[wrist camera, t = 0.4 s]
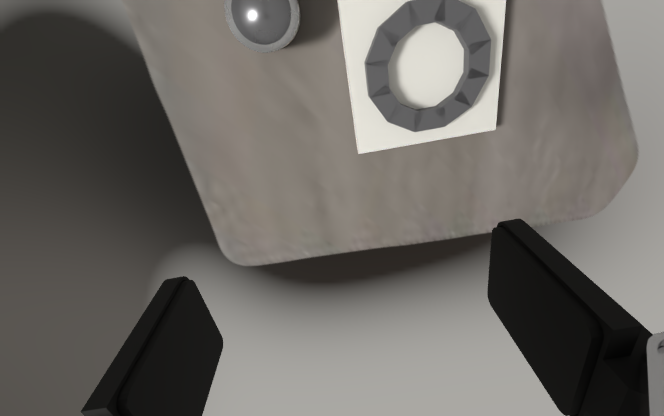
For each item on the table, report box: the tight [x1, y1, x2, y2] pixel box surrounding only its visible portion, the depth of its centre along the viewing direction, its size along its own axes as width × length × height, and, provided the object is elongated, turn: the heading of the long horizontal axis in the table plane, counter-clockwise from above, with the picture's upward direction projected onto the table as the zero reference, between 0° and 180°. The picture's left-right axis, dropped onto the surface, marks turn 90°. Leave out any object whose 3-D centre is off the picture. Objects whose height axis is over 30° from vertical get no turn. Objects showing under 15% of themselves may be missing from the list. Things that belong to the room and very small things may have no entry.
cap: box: [224, 0, 301, 53], centre depth 28 cm, size 6×6×4 cm
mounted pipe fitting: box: [337, 0, 506, 154], centre depth 31 cm, size 15×15×2 cm
